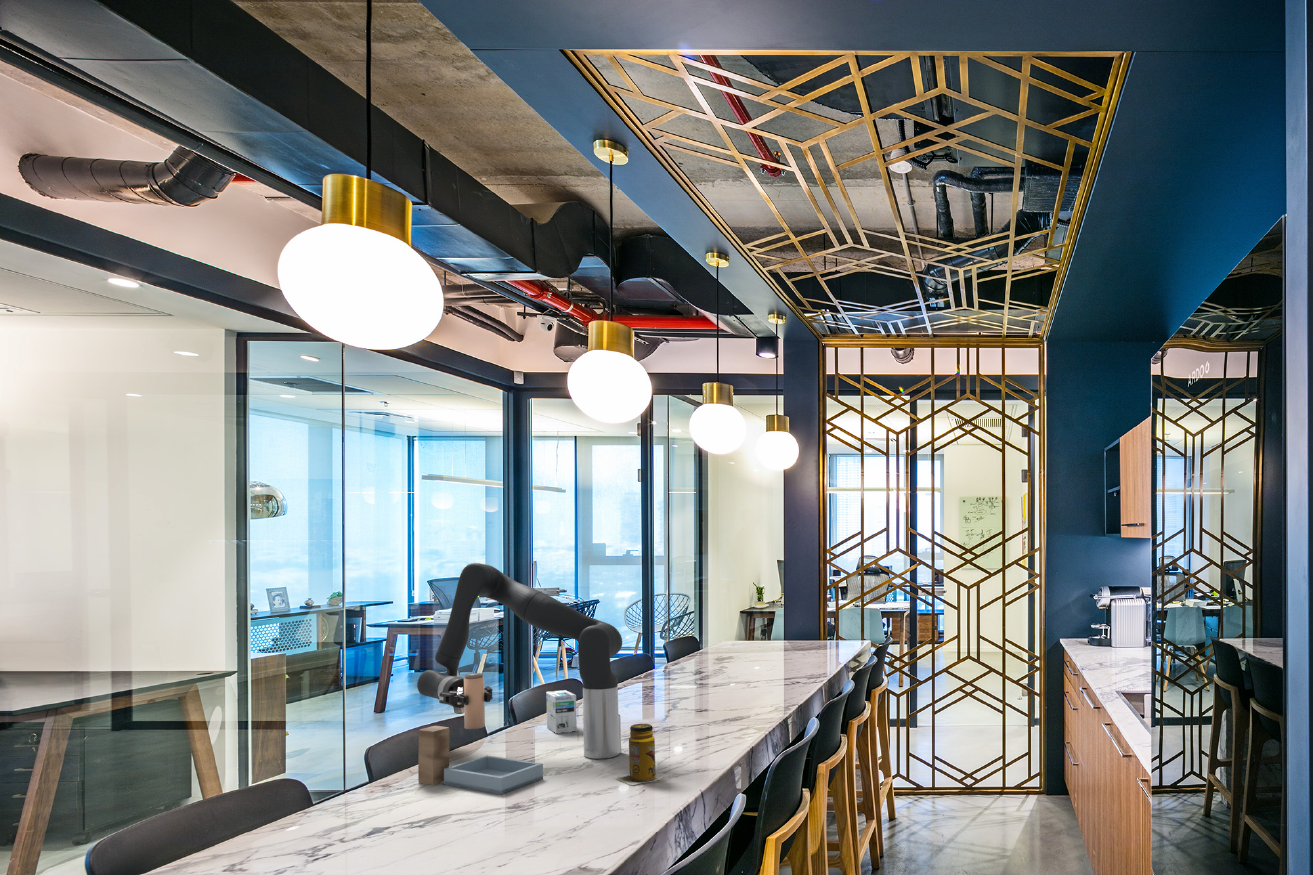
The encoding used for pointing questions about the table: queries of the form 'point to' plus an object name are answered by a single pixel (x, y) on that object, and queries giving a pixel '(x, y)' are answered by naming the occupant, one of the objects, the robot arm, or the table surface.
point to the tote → (493, 774)
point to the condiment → (641, 755)
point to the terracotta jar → (474, 701)
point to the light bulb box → (561, 711)
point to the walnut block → (433, 754)
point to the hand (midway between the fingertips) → (478, 699)
